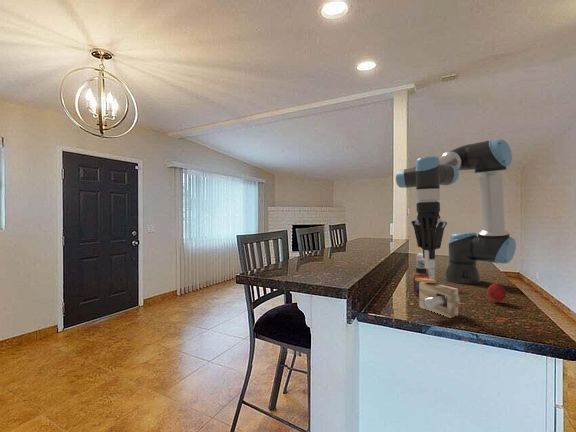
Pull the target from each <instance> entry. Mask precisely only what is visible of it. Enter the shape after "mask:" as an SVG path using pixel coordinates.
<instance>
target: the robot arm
mask: <svg viewBox="0 0 576 432" xmlns="http://www.w3.org/2000/svg"><path fill="white" fill-rule="evenodd" d="M512 160H513V154H512V150H511V147H510V145H509V143H508V142H507V141H506V140H504V139H500V138H499V139H491V140H486V141H480V142H475V143H471V144H470V143H469V144H464V145H461V146H459V147H456V148H453V149H451V150H449V151H447V152H444V153H443V154H442V155H441V156H440V157H439V156H434V155H433V156H430V155H429V156H423V157H419V158H417V159H416V162H415V166H414V167H411V168H404V169H400V170H398V171H397V172H396V175H395V183H396V185H397V187H399V188H401V189H402V188H403V189H404V188H406V189H410V188H415V190H416V191H415V194H416V195H415V200H416V201H417V203H416V204H415V205H416V213H417V215H416V219H414V220H412V221H411V222H410V223H411V225H412V227H413V230H414V235H415V239H416V244H417V247H418V248H421V249H422V253H423V258H425V268H426V269H431V268H434V261H433V259H435V260H436V250H438V249H441V245H442V242H443V238H444V232H445V228H446V226H447V225H448V223H447V221H445V220H444V221H443V220H442V218H441V215H440V212H441V203H440V202H439V201H440V200H441V199H440V198H441V197H440V196H441V195H440V192H441V191H440V186H450V185H453V184H455V183H456V182H457V180H458V179H459V176H460V174H459V173H460V172H459V171H470V170H472V171H473V170H474V174H475V175H476V176H477V177H478V182H479V199H480V200H479V201H480V202H479V203H480V219H481V230H480V231H478V233H476V232H461V233H452V234H449V236H448V265H447V268H446V271H445V273H444V279H445V280H446V281H448V282H452V283H454V284H455V283H457V284H462V285H463V284H466V285H469V284H470V285H471V284H472V285H473V284H475V285H476V284H479V283H481V281H482V279H481V278H482V277H481V275H480V272H479V269H478V266H477V261H478V262H486V263H487V262H488V263H493V264H502V265H503V264H504V265H506V264H508V263H510V262H511V261H512V260H513V258H514V256H515V252H516V247H517V243H516V240H515V238H514V237H512V236H511V237H510V232H509V231H508V230H507V229H506V223H505V221H506V220H505V205H504V203H505V202H504V200H505V199H504V183H503V182H504V180H503V177H504V176H503V175H504V173H505V172H507V167H510V165H511V164H512Z"/></svg>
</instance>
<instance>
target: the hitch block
mask: <svg viewBox="0 0 576 432" xmlns="http://www.w3.org/2000/svg"><path fill="white" fill-rule="evenodd" d="M441 295H446V296H447V304H445V305H441V306H436V307H432V308H428V309H427V308H425V307H424V306H423V304H422V301H423V300H424V299H427V298H432V297H437V296H441ZM458 295H459V288H455V287H451V286H448V285H443V284H440V283H438V284H436V283H425V282H421V283H419V296H418V298H419V299H418V300H419V302H418V303H419V305H418V306H419V307H420V309H422V310H425V309H426V311H428V310H429V312H431V311H432V313H434V312H435V313H434V314H437V313H438V314H437V315H440V314H441V316H443V315H444V316H443V317H446V318H449V319H451V318H455V316H456V317H458V316H459V304H458Z"/></svg>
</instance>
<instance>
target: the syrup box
mask: <svg viewBox="0 0 576 432" xmlns="http://www.w3.org/2000/svg"><path fill="white" fill-rule="evenodd" d="M433 261H434V268H431V269H426V272H427V273H428V274H429V279H434V280H436V277H435V276H436V258H435V259H433ZM416 267H425V258H423V252H419V253H416Z"/></svg>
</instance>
